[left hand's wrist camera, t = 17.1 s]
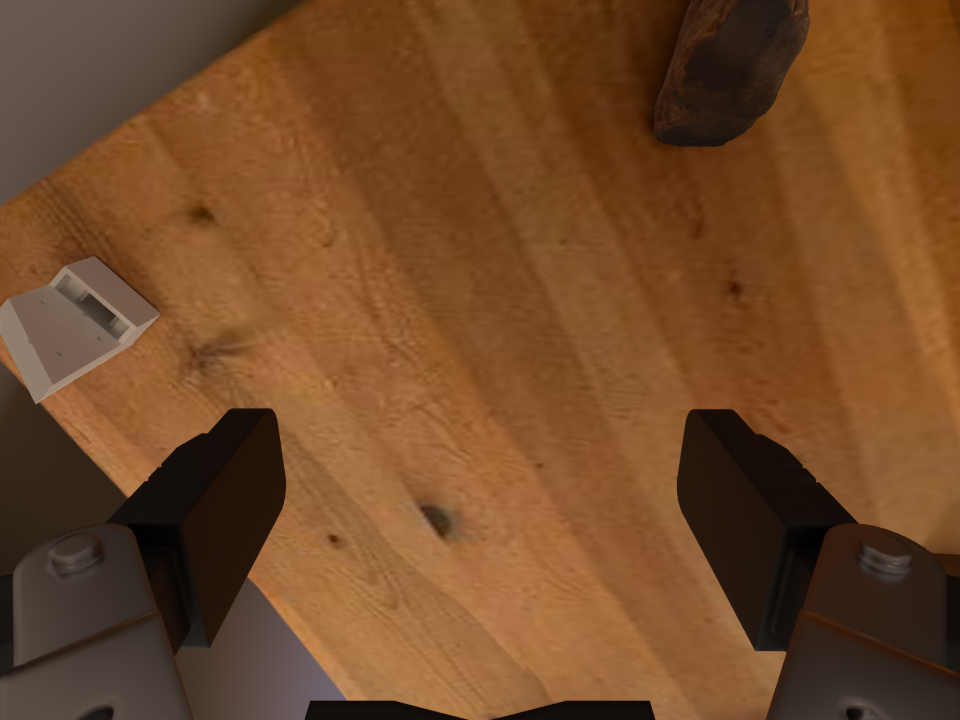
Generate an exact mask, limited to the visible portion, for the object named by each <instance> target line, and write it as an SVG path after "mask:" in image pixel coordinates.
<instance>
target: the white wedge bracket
mask: <svg viewBox="0 0 960 720" xmlns="http://www.w3.org/2000/svg"><path fill="white" fill-rule="evenodd" d="M160 314H161V313H160V312H158V311H157V310H156V309H155V308H154V307H153V306H151V305H150V304H149V303H148V302H147V301H146V300H145V299H143V298H142V297H141V296H140V295H139V294H138V293H137V292H135V291H134V290H133V289H132V288H131V287H130V286H128V285H127V284H126V283H125V282H124V281H123V280H122V279H120V278H119V277H118V276H117V275H116V274H115V273H114V272H112V271H111V270H110V269H109V268H108V267H107V266H105V265H104V264H103V263H102V262H101V261H100V260H99V259H97V258H96V257H95V256H93V257H90V258H87V259H84V260H81V261H78V262H75V263H72V264H69V265H65V266H64V267H63V268H62V269H61V271H60V272H59V273H58V274H57V275H56V276H55V278H54V279H53V280H52V281H51V282H50V283H49V284H47V285H45V286H42V287H39V288H36V289H33V290H31V291H28V292H25V293H22V294H19V295H16V296H14V297H11V298H8V299H7V300H6V302H5V303H4V304H3V305H2V306H1V308H0V334H1V336H2V338H3V340H4V342H5V344H6V346H7V348H8V350H9V352H10V354H11V356H12V358H13V360H14V362H15V364H16V366H17V368H18V370H19V372H20V374H21V376H22V378H23V380H24V382H25V384H26V386H27V388H28V390H29V392H30V394H31V396H32V398H33V400H34V402H35V404H36V403H38V402H40V401H41V400H43V399H44V398H46V397H48V396H49V395H51V394H53V393H54V392H56V391H57V390H59V389H61V388H62V387H64V386H66V385H67V384H69V383H70V382H72V381H74V380H75V379H77V378H79V377H80V376H82V375H83V374H85V373H87V372H88V371H90V370H92V369H93V368H95V367H96V366H98V365H100V364H101V363H103V362H105V361H106V360H108V359H109V358H111V357H113V356H114V355H116V354H118V353H119V352H121V351H122V350H124V349H126V348H127V347H129V346H131V345H132V344H133V343H134V342H135V341H136V340H137V339H138V338H139V337H140V335H141V334H142V333H143V332H144V331H145V330H146V329H147V328H148V327H149V326H150V325H151V324H152V323H153V322H154V321H155V320H156V319H157V318H158V317H159V315H160Z"/></svg>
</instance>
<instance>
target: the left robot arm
mask: <svg viewBox="0 0 960 720" xmlns="http://www.w3.org/2000/svg"><path fill="white" fill-rule="evenodd" d="M285 494H286V476H285V469H284V463H283V456H282V449H281V442H280V435H279V429H278V422H277V417H276V414H275V412H274V411H273V410H272V409H270V408H233V409H230V410H228V411H227V413H226V414H225V415H224V416H223V417H222V418H221V419H220V420H219V421H218V423H217V424H216V425H215V426H214V427H213V428H212V429H211V430H210V431H209V433H201V434H200V435H198V436H196V437H194V438H193V439H191V440H189V441H188V442H186V443H184V444H182V445H181V446H179V447H177V448H176V449H175V450H174V451H173V452H172V453H171V454H170V455H169V457H168V458H167V459H166V460H165V461H164V462H163V463H162V466H161V467H158V468H157V469H156V470H155V471H154V472H153V473H152V474H151V475H150V476H149V478H148V481H145V482H144V483H143V484H142V485H141V486H140V487H139V488H138V489H137V490H136V491H135V492H134V493H133V494H132V495H131V496H130V497H129V498H128V500H127V501H126V502H125V503H124V504H123V505H122V506H121V507H120V508H119V509H118V510H117V511H116V512H115V513H114V514H113V515H112V516H111V517H110V518H109V519H108V520H107V522H106V523H105V524H95V525H89V526H84V527H80V528H77V529H74V530H70V531H68V532H65V533H62V534H60V535H58V536H56V537H54V538H52V539H50V540H48V541H46V542H44V543H43V544H41V545H39V546H38V547H36V548H35V549H34V550H32V551H31V552H30V553H29V554H28V555H26V556H25V557H24V558H23V559H22V560H21V562H20V563H19V564H18V566H17V567H16V569H15V571H14V574H10V575H5V576H0V720H194V717H193V714H192V711H191V708H190V705H189V701H188V698H187V695H186V692H185V689H184V685H183V682H182V679H181V676H180V673H179V670H178V666H177V663H176V660H175V656H176V654H177V652H178V650H179V649H209V648H210V646H211V644H212V642H213V641H214V639H215V637H216V635H217V633H218V631H219V629H220V627H221V625H222V623H223V621H224V620H225V618H226V616H227V614H228V612H229V610H230V608H231V606H232V604H233V602H234V600H235V598H236V596H237V595H238V593H239V591H240V589H241V587H242V585H243V583H244V581H245V579H246V577H247V575H248V574H249V572H250V570H251V568H252V566H253V564H254V562H255V560H256V558H257V556H258V554H259V553H260V551H261V549H262V547H263V545H264V543H265V541H266V539H267V537H268V535H269V533H270V531H271V530H272V528H273V526H274V524H275V522H276V520H277V518H278V516H279V514H280V512H281V510H282V508H283V504H284V500H285ZM677 495H678V501H679V505H680V509H681V511H682V513H683V515H684V517H685V519H686V521H687V523H688V525H689V527H690V528H691V530H692V532H693V534H694V536H695V538H696V540H697V542H698V544H699V545H700V547H701V549H702V551H703V553H704V555H705V557H706V559H707V561H708V563H709V564H710V566H711V568H712V570H713V572H714V574H715V576H716V578H717V580H718V581H719V583H720V585H721V587H722V589H723V591H724V593H725V595H726V597H727V598H728V600H729V602H730V604H731V606H732V608H733V610H734V612H735V614H736V616H737V617H738V619H739V621H740V623H741V625H742V627H743V629H744V631H745V633H746V634H747V636H748V638H749V640H750V642H751V644H752V646H753V648H754V650H755V651H786V653H787V654H786V657H785V660H784V663H783V666H782V670H781V673H780V676H779V679H778V682H777V685H776V689H775V692H774V695H773V698H772V701H771V705H770V708H769V711H768V714H767V717H766V720H960V577H956V576H951V575H947V574H946V571H945V569H944V567H943V566H942V564H941V563H940V562H939V560H938V559H937V558H936V557H935V556H934V555H933V554H931V553H930V552H929V551H928V550H926V549H925V548H924V547H922V546H921V545H919V544H917V543H916V542H914V541H912V540H910V539H908V538H907V537H904V536H902V535H900V534H898V533H895V532H892V531H890V530H887V529H883V528H880V527H876V526H871V525H865V524H859V523H858V522H857V521H856V520H855V519H854V518H853V517H852V516H851V515H850V514H849V513H848V512H847V511H846V510H845V509H844V508H843V507H842V506H841V505H840V503H839V502H838V501H837V500H836V499H835V498H834V497H833V496H832V495H831V494H830V493H829V492H828V491H827V490H826V489H825V488H824V487H823V486H822V485H821V484H820V483H816V479H815V477H814V476H813V475H812V474H811V473H810V472H809V471H808V470H807V469H806V468H803V467H802V464H801V463H800V462H799V461H798V460H797V459H796V458H795V457H794V456H793V455H792V454H791V453H790V452H789V450H788V449H787V448H785V447H783V446H781V445H780V444H778V443H776V442H774V441H773V440H771V439H769V438H767V437H766V436H764V435H762V434H755V433H754V432H753V431H752V429H751V428H750V427H749V426H748V425H747V424H746V423H745V422H744V421H743V420H742V418H741V417H740V416H739V415H738V414H737V413H736V412H735V411H734V410H732V409H693V410H691V411H690V412H689V413H688V416H687V419H686V423H685V430H684V437H683V443H682V450H681V457H680V464H679V470H678V477H677ZM305 720H467V719H463V718H459V717H455V716H452V715H448V714H444V713H440V712H436V711H432V710H428V709H424V708H420V707H416V706H413V705H409V704H405V703H401V702H397V701H310V703H309V707H308V710H307V713H306V717H305ZM493 720H655V717H654V713H653V710H652V707H651V703H650V701H563V702H559V703H555V704H551V705H547V706H544V707H540V708H536V709H532V710H528V711H524V712H520V713H516V714H512V715H508V716H505V717H501V718H497V719H493Z"/></svg>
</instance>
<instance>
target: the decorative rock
mask: <svg viewBox="0 0 960 720" xmlns="http://www.w3.org/2000/svg"><path fill="white" fill-rule="evenodd" d="M809 23H810V18H809V14H808V0H691V2H690V4H689V7H688V9H687V12H686V15H685V18H684V21H683V24H682V27H681V30H680V33H679V35H678V39H677V43H676V47H675V50H674V53H673V56H672V59H671V62H670V64H669V67H668V70H667V73H666V77H665V81H664V84H663V86H662V89H661V91H660V93H659V96H658V100H657V102H656V106H655V113H654V114H655V124H654V135H655V138H656V139H657V140H659V141H661V142H663V143H664V144H671V145H676V146H710V147H717V146H722V145H724V144H725V143H726V142H728V141H730V140H733V139H735V138H736V137H737V136H739V135H741V134H743V133H745V132H746V130H747V129H749V128H750V127H751V126H752V125H753V124H754V122H755V120H756V119H757V118H758V117H760V116H762V115H763V114H765V113H766V112H767V111H768V110H769V109H770V108H771V106H772V105H773V103H774V101H775V99H776V97H777V93H778V91H779V89H780V87H781V85H782V82H783V80H784V77H785V75H786V72H787V71H788V69H789V67H790V66H791V64H792V63H793V61H794V59H795V58H796V56H797V55H798V54H799V52H800V51H801V49H802V47H803V45H804V43H805V40H806V36H807V33H808V29H809Z"/></svg>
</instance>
